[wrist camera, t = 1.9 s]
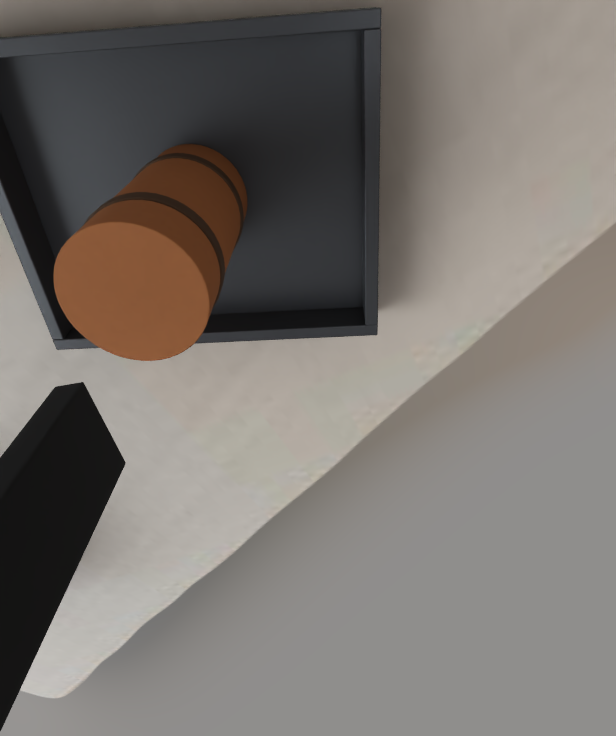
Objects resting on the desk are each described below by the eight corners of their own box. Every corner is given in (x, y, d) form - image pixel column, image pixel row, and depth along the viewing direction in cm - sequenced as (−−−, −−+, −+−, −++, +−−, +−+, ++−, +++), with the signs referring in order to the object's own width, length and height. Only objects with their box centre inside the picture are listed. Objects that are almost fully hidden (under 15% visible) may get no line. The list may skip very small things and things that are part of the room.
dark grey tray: (-34, 40, 27) (-70, 43, 25) (375, 7, 26) (381, 7, 24) (74, 326, 37) (56, 350, 35) (373, 312, 36) (377, 335, 34)
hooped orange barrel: (130, 145, 30) (25, 224, 19) (241, 138, 29) (195, 213, 19) (157, 251, 33) (80, 366, 23) (255, 245, 33) (224, 359, 22)
